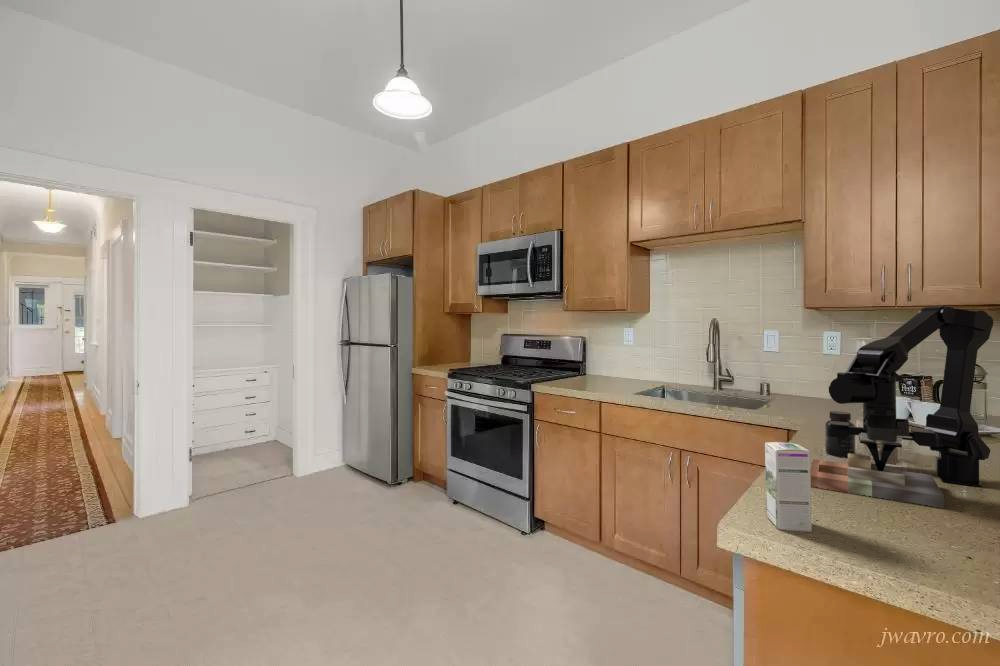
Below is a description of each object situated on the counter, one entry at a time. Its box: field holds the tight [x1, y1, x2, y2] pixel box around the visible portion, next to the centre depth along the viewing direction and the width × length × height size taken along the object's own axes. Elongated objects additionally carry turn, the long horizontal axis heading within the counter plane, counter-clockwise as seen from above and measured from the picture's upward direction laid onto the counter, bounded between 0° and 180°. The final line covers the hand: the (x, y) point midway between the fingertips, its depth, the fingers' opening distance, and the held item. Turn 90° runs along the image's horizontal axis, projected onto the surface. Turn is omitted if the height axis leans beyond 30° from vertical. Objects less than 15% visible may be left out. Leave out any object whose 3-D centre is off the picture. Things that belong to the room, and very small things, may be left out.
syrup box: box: [764, 441, 813, 533], centre depth 83 cm, size 6×6×14 cm
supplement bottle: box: [824, 410, 856, 459], centre depth 128 cm, size 7×7×12 cm
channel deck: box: [810, 458, 945, 510], centre depth 102 cm, size 22×16×4 cm
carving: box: [860, 421, 899, 465], centre depth 117 cm, size 6×8×12 cm
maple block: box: [847, 453, 871, 470], centre depth 103 cm, size 4×4×4 cm
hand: (880, 471), depth 101 cm, fingers closed
